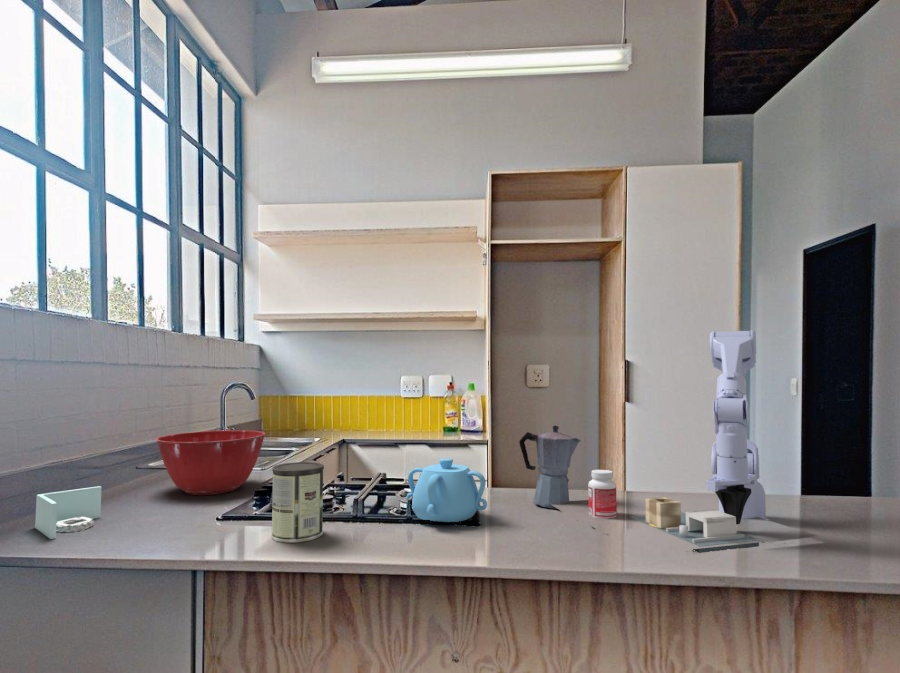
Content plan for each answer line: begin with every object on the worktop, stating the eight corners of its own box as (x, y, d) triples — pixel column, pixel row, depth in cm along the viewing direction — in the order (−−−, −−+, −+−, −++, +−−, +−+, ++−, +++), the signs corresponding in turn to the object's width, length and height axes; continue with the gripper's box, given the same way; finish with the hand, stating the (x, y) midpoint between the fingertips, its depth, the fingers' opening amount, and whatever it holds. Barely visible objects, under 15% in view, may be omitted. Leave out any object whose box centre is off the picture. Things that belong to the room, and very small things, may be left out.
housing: (713, 526, 116) (713, 509, 117) (736, 535, 111) (735, 516, 111) (685, 529, 114) (685, 511, 115) (707, 538, 109) (706, 519, 109)
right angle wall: (50, 542, 111) (52, 503, 111) (34, 530, 119) (36, 494, 119) (117, 529, 120) (118, 494, 120) (98, 519, 128) (100, 486, 128)
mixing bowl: (129, 499, 145) (131, 439, 146) (196, 478, 173) (198, 428, 174) (229, 504, 140) (231, 442, 141) (281, 481, 168) (282, 430, 169)
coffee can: (290, 526, 121) (292, 460, 122) (332, 531, 117) (333, 463, 118) (259, 539, 111) (261, 468, 112) (304, 545, 108) (305, 471, 109)
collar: (665, 520, 122) (664, 497, 122) (681, 526, 117) (680, 502, 117) (645, 521, 120) (645, 498, 121) (660, 528, 116) (660, 503, 116)
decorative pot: (492, 525, 123) (492, 463, 123) (422, 531, 117) (423, 466, 118) (466, 508, 138) (466, 452, 139) (403, 513, 133) (403, 455, 133)
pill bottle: (622, 521, 126) (621, 471, 127) (604, 525, 123) (603, 474, 123) (601, 515, 131) (600, 467, 132) (582, 519, 128) (582, 470, 128)
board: (681, 517, 130) (681, 499, 130) (758, 546, 108) (758, 524, 109) (629, 521, 125) (629, 503, 126) (699, 552, 104) (698, 529, 105)
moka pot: (585, 510, 136) (584, 427, 137) (522, 509, 136) (521, 427, 137) (576, 501, 145) (576, 423, 147) (517, 500, 146) (517, 423, 147)
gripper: (734, 451, 122) (735, 514, 121) (692, 456, 115) (693, 523, 114) (766, 455, 116) (768, 521, 115) (724, 460, 109) (726, 531, 108)
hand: (733, 523), depth 114 cm, fingers closed
